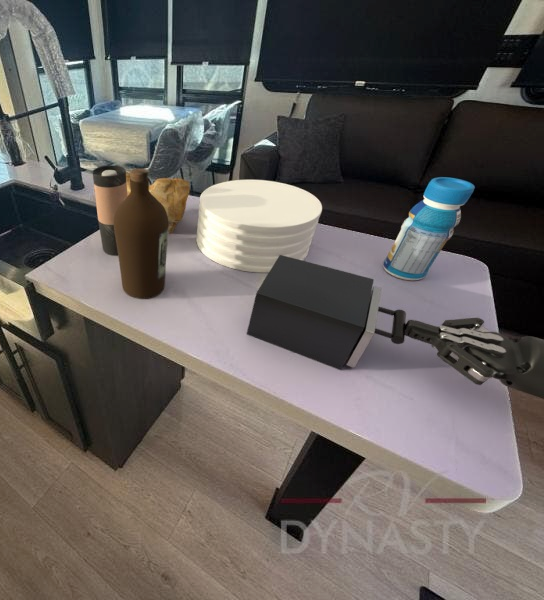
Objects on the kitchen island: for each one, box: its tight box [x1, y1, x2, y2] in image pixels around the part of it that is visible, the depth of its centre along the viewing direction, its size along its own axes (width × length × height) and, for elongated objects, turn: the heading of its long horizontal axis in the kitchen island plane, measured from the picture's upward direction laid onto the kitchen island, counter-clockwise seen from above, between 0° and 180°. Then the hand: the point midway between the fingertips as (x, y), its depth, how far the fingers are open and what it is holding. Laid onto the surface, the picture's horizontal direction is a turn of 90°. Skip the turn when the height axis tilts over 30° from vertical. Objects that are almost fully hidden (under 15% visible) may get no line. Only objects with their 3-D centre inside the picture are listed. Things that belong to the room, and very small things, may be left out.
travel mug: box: [92, 164, 128, 256], centre depth 79 cm, size 8×8×20 cm
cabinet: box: [246, 255, 375, 371], centre depth 58 cm, size 16×14×10 cm
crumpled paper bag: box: [126, 171, 191, 234], centre depth 93 cm, size 23×17×15 cm
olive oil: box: [114, 168, 169, 300], centre depth 65 cm, size 11×11×25 cm
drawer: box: [345, 286, 407, 369], centre depth 56 cm, size 19×13×8 cm, turn 57°
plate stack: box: [196, 179, 323, 273], centre depth 82 cm, size 28×28×12 cm
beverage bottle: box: [382, 176, 476, 281], centre depth 68 cm, size 8×8×20 cm
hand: (405, 326), depth 51 cm, fingers closed
